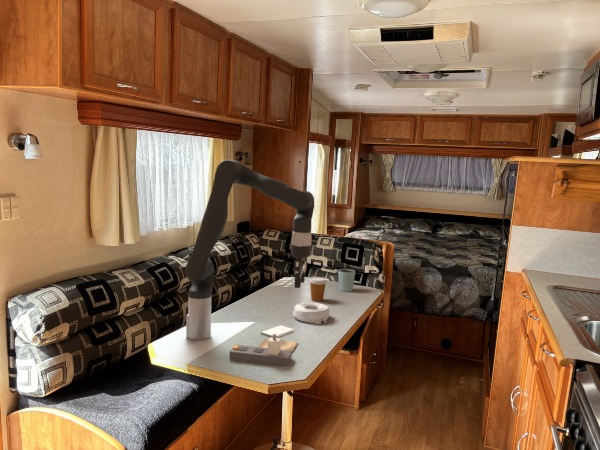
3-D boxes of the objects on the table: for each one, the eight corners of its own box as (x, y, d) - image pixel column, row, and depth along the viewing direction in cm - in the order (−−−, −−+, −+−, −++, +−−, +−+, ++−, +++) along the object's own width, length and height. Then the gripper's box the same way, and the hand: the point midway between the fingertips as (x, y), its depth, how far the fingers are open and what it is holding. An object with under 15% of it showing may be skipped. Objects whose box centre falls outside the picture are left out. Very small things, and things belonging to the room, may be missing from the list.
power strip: (229, 359, 170) (229, 349, 170) (235, 352, 177) (236, 343, 177) (287, 366, 166) (287, 356, 166) (291, 358, 173) (291, 349, 172)
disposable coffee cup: (326, 303, 248) (327, 281, 247) (308, 302, 248) (309, 280, 247) (325, 298, 258) (326, 277, 256) (308, 297, 258) (309, 276, 256)
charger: (267, 361, 169) (267, 335, 168) (269, 358, 173) (270, 332, 172) (277, 363, 169) (278, 336, 167) (280, 359, 172) (281, 333, 171)
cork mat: (257, 348, 181) (257, 347, 181) (264, 339, 191) (264, 338, 191) (292, 352, 178) (292, 351, 178) (297, 343, 188) (297, 342, 188)
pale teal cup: (335, 288, 280) (335, 269, 279) (350, 287, 283) (351, 268, 282) (341, 292, 270) (342, 272, 269) (357, 292, 273) (358, 272, 272)
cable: (326, 325, 212) (326, 313, 211) (289, 322, 215) (289, 309, 215) (331, 314, 229) (331, 302, 228) (296, 311, 233) (297, 299, 232)
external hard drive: (260, 335, 198) (280, 328, 207) (274, 340, 193) (293, 332, 202) (260, 331, 198) (280, 324, 207) (274, 336, 193) (294, 329, 202)
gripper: (295, 240, 183) (293, 280, 185) (287, 245, 169) (286, 288, 171) (313, 241, 182) (312, 281, 184) (307, 247, 168) (305, 290, 170)
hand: (299, 285), depth 178 cm, fingers open, 8 cm apart
